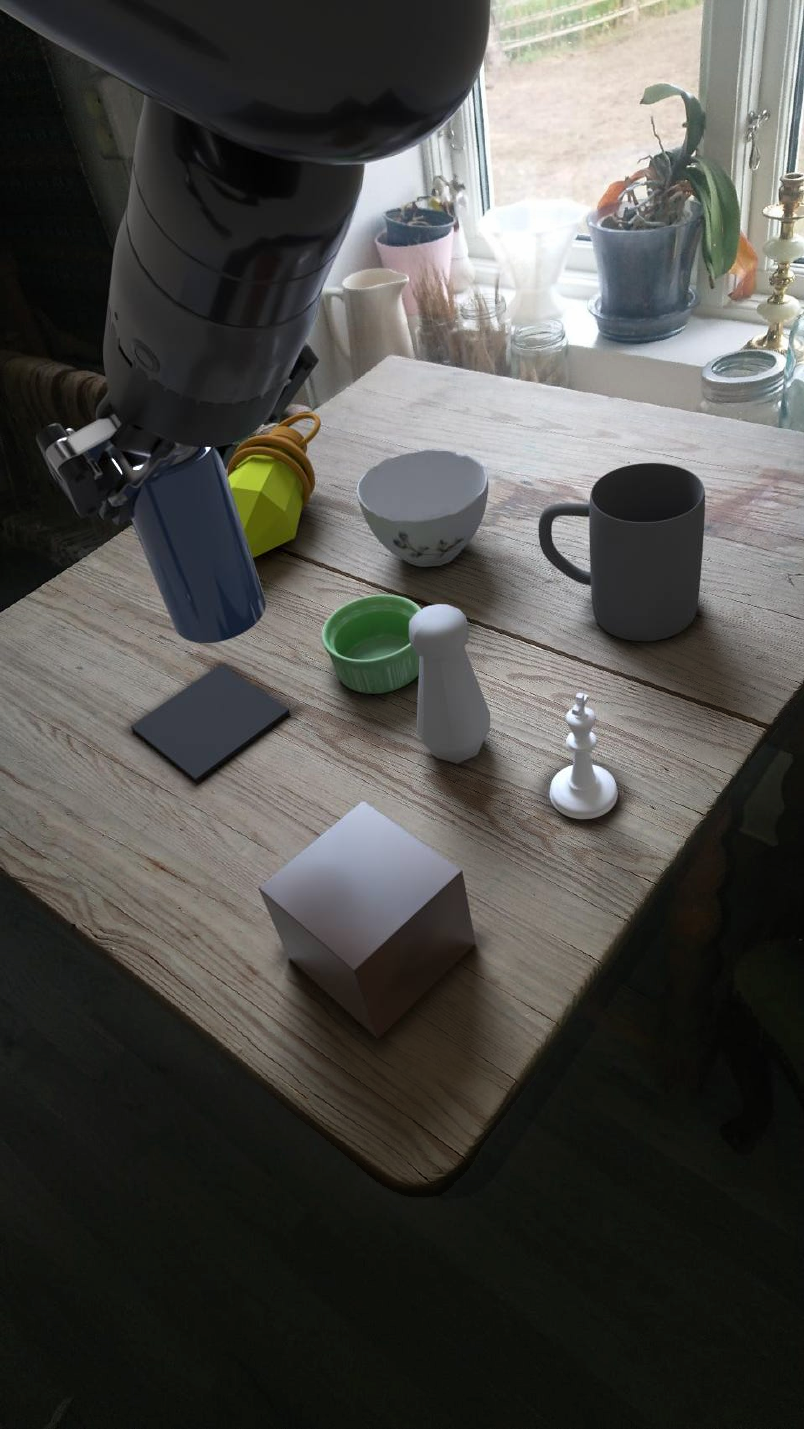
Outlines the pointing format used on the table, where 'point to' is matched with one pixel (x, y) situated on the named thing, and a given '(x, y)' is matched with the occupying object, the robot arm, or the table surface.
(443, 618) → the salt shaker
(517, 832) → the table surface
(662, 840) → the table surface
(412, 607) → the ramekin
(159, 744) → the coaster
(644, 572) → the mug
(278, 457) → the plumb bob
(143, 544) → the blue cylinder
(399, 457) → the teacup
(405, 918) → the cube
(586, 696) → the chess piece
